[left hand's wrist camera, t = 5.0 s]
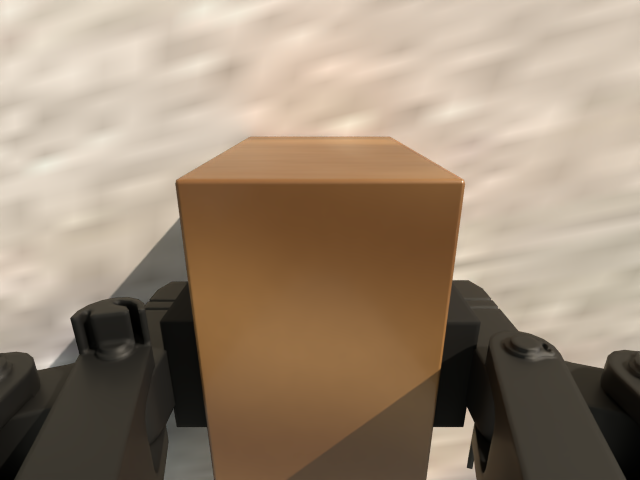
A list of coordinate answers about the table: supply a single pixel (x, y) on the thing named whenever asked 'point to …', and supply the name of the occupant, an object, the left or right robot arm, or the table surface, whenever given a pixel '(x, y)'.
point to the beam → (320, 304)
